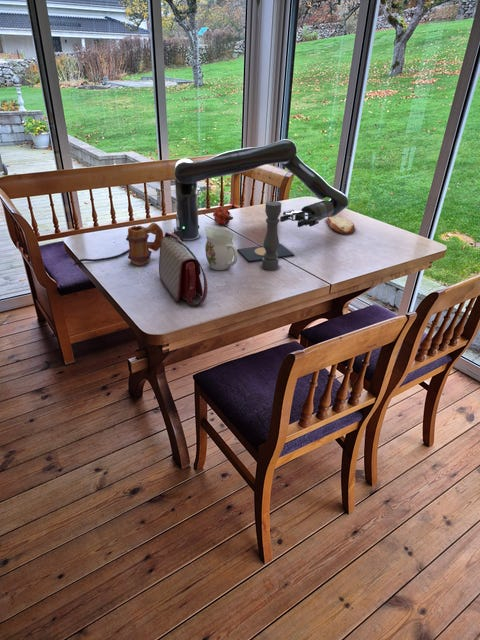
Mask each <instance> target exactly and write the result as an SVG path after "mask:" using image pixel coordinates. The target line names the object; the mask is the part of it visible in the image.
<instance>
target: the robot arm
mask: <svg viewBox="0 0 480 640" xmlns="http://www.w3.org/2000/svg"><path fill="white" fill-rule="evenodd" d="M297 153H298V147H297V145H296V143H295V142H294V141H292V140H290V139H286V138H285V139H280V140H278V141H275V142H271V143H268V144H265V145H262V146H253V147H244V148H239V149H233V150H228V151H225V152H222V153H219V154H217V155H215V156H212V157H210V158H208V159H205V160H198V161H192V160H191V159H189V158H181V159H179V160H177V162H176V163H175V165H174V169H173V170H174V171H173V173H174V186H175V187H174V189H175V191H174V192H175V205H176V206H175V208H176V215H175V225H176V226H175V227H173V231H172V232H173V233H174V234H175V235H176V236H178V237H179V238H180V240H181V241H194V240H195V241H196V240H197V239H199V238H200V233H199V232H200V231H199V229H200V225H199V201H198V200H199V199H198V182H201V181H204V180H208V179H212V178H213V179H214V178H220V177H225V176H231V175H237V174H241V173H246V172H249V171H252V170H254V169H257V168H259V167H262V166H266V165H272V164H280V165H281V166H283V167H284V168H285V169H287V170H288V171H289V172H290V173H292V175H294V176H295V177H296V178H297V179H298V180H299V181H300V182H301V183H302V184H303V185H304V186H305V187H306V188H307V189H308V190H309V191H310V192H311V193H312V194H313V196H315V198H317V199H318V200H321V201H318V202H313V203H310V204H307V205H304V206H303V207H302V208H301V209H300V210H298V211H295V209H289V210H285V211H283V212H282V215H281V216H279V220H280V221H279V223H280V222H281V223H284V222H285V221H286V222H287V221H291V222H297V225H296V226H297V228H302V227H304V226H305V227H308V226H309V227H313V226H316V225H319V223H320V221H322V220H324V219H327V218H328V217H333V216H337V215H338V214H340V213H341V212H343V210H345V209H346V208H347V207H348V206H349V199H348V197H347V196H346V194H344V193H343V192H342V191H340V190H338V189H336V188H334V187H333V186H331V185H330V184H329V183H327V181H326V180H325V179H324V178H323V177H322V176H321V175H320V174H318V173H317V172H316V171H315V170H314V169H312V168H311V167H310V166H308V165H307V164H306V163H304V162H303V161H302V159H301V158H300V157H299V156H298V154H297ZM326 198H328V199H329V200H328V199H326ZM324 199H326V200H324ZM153 242H154V241H148V243H153ZM127 253H130V249H129V248H128V249H127V250H125V251H123V252H121V253H119V254H116V255H113V256H107V257H101V258H81V259H78V260H76V261H75V262H74V264H73V266H77V265H78V264H79V263H80V262H81V263H82V262H101V261H107V260H112V259H117V258H120V257H122V256H124V255H126V254H127Z"/></svg>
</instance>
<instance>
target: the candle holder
mask: <svg viewBox="0 0 480 640" xmlns="http://www.w3.org/2000/svg"><path fill="white" fill-rule="evenodd" d="M264 209H265V211H264V212H265V215H266V218H265V222H266V232H265V235H264V239H263V242H262V243H263V244H262V246H264V249H265V251H266V252H265V254H264V255H263V257H264V258H263V260H261V261H262V263H261V267H262V269H263V270H266V271H276V270H278V268H279V258H278V254H277V253H276V251H277V249H278V248H279V244H280V242H279V240H280V239H279V234H278V225H279V223H280V215H281V213H282V203H281V201H275V200H274V201H273V200H272V201H271V200H270V201H266V202H265V208H264Z"/></svg>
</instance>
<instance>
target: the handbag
mask: <svg viewBox="0 0 480 640" xmlns="http://www.w3.org/2000/svg"><path fill="white" fill-rule="evenodd" d="M173 232H174V231H166V232H165V234H164V235H163V237H162V238H161V243H160V248H159V257H158V258H159V259H158V275H159V279H160V281H161V283H162V284H163V285H164V287H165V288H166V289H167V291H168V292H169V294H170V295H171V296H172V298H173V300H174V301H175V302H179V300H180V298H182V299H183V300H186V302H187V303H188V304H189V305H190V306H200V305H202V304H203V303H204V302H205V300H206V298H207V296H208V281H207V276H206V273H205V271H204V268H203V267H202V265H201V263H200V261H199V259H198V258H197V257H196V255H195V254H194V253H193V252H192V250H191V249H190V248H189V247H188V246H187V245H186V244H185V243H184V242H183V240H180V238H179V237H178V236H176V235H175V234H174V233H173ZM201 272H202V277H203V285H202V281H201V276H200V275H201ZM196 294H197V295H198V296H199V297H200V298H201V299H200V300H199V301H198V302H197V303H196V302H194V301H193V300H192V299H195V298H196Z"/></svg>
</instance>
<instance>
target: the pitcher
mask: <svg viewBox="0 0 480 640" xmlns="http://www.w3.org/2000/svg"><path fill="white" fill-rule="evenodd" d="M204 229H205V231H206V232H205V238H206V242H205V249H204V252H205V257H206V260H207V263H208V265H209V267H211V269H213V270H216V271H225V270H227V269H229V267H233V266H235V265H236V264H237V263H238V257H239V252H238V251H237V249H238V248H236V245H234V241H233V239H234V233H233V232H232V231H231V230H227V229H225V228H216V227H211V226H206V227H204Z"/></svg>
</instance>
